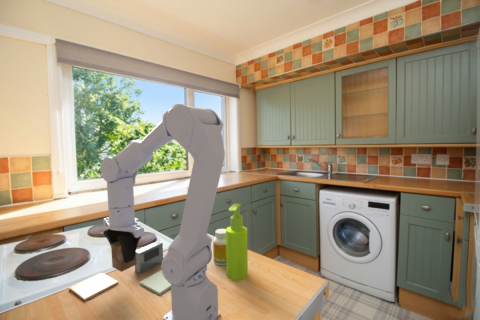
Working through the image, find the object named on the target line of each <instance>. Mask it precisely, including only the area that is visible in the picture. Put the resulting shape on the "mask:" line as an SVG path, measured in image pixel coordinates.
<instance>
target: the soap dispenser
mask: <svg viewBox="0 0 480 320" xmlns="http://www.w3.org/2000/svg"><path fill="white" fill-rule="evenodd" d="M241 207H242V204H241V203H234V204H232V205H231V206H230V207H229V208H228V212H233V214H232V215H230V226H227V227H226V228H225V229H226V265H225V266H226V268H225V270H226V272H225V273H226V277H227V278H228V279H229V280H231V281H237V282H239V281H243V280H245V279H246V278H247V277H248V273H249V272H248V266H249V265H248V262H249V261H248V260H249V259H248V227H247V226H244V217H243V215H241V214H240V213H241V210H240V208H241Z"/></svg>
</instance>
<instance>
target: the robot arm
mask: <svg viewBox="0 0 480 320" xmlns="http://www.w3.org/2000/svg"><path fill="white" fill-rule="evenodd" d="M223 127H224V122H223V121H222V119H221V118H220V117H219V115H218V114H217V113H216V112H215V110H213V109H210V108H200V107H195V106H190V105H186V104H185V103H176V104H174V105H172V106H171V107H170V108H169V109H168V110H167V111H165V112H163V114H162V118H161V121H160V122H159V123H158V124H157V125H156V126H155V127H154V128H153V129H152V130H151V131H150V132H149V133H148V134H147V135H146V136H145V137H144V138H142V140H141V139H131V140H129V141H128V145H127V146H126V147H124V148H123V149H122V150H119V151H118V152H117V154H115V156H105V157H103V160H102V161H101V163H100V166H99V168H100V170H99V171H100V174H101V177H102V178H103V180H104V181H105V182H106V189H107V190H106V191H107V205H108V206H107V207H108V209H107V210H108V216H107V217H104V218H103V219H102V221H103V222H102V223H103V227H107V228H108V229H105V230H104V231H103V233H102V234H103V235H104V237H105V238H106V240H107V241H108V244H109V246H110V247H111V244H112V243H115V242H117V241H119V243H120V245H121V248H122V252H123V258H124V261H125V262H126V263H128V262H130V261H132V260H134V257H135V252H136V250H137V247H138V245H139V242H140V240H141V237H144V236H145V227H144V226H141V225H140V223H139V221H140V219H139V218H138V217H136V216H135V215H136V214H135V193H134V186H135V185H136V177H137V175H138V173H139V170H140V169H141V168H143V167H144V166H146V165H148V163H149V162H151V161H152V160H153V158H154V152H156V151H157V150H159V149H160V148H162V147H164V146H165V145H167V144H168V143H170V142H171V141H173V140H174V141H176V143H178V144H179V145H180V146H181V147H182V148H183V149H185V150H186V151H187V152H188V153H189V154H190V156H191V157H192V158H193V163H192V168H191V174H190V178H189V182H188V188H187V194H186V199H185V204H184V208H183V213H182V217H181V218H182V219H181V221H180V227H179V233H178V234H177V235H176V237H175V238H174V239H173V240H172V241H171V243H170V245H168V249H167V253H166V255H164V256H163V260H162V262H161V270H162V273H163V275H164V277H165V279H166V280H167V281H168V282H169V283H170V284H171V288H170V292H171V294H170V295H171V299H170V300H171V310H170V311H168V312H167V313H166V314H165V315H164V316H163V317H162V320H216V319H218V318H219V316H221V311H220V310H219V298H218V297H219V295H218V294H219V293H218V292H219V290H218V287H217V285H216V284H215V283H213V282H212V281H211V280H210V279H209V278H208V276H207V274H206V273H207V271H208V265H209V264H210V263H211V262H212V258H213V251H212V250H213V249H212V243H213V238H212V237H211V236H210V235H209V234H208V230H209V226H210V221H211V217H212V213H213V208H214V204H215V201H216V200H215V199H216V195H217V192H218V191H217V190H218V187H219V183H220V180H221V179H220V177H221V174H222V169H223V165H224V161H225V155H226V151H225V146H224V141H223V136H222V135H223V134H222V132H223Z"/></svg>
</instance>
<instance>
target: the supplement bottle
mask: <svg viewBox="0 0 480 320" xmlns="http://www.w3.org/2000/svg"><path fill="white" fill-rule="evenodd" d="M214 232H215V233H214V235H215V236H214V238H213V239H212V243H213V245H212V246H213V249H212V250H213V251H212V258H213V263H214V264H215V265H217V266H226V228H218V229H216V230H215V231H214Z"/></svg>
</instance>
